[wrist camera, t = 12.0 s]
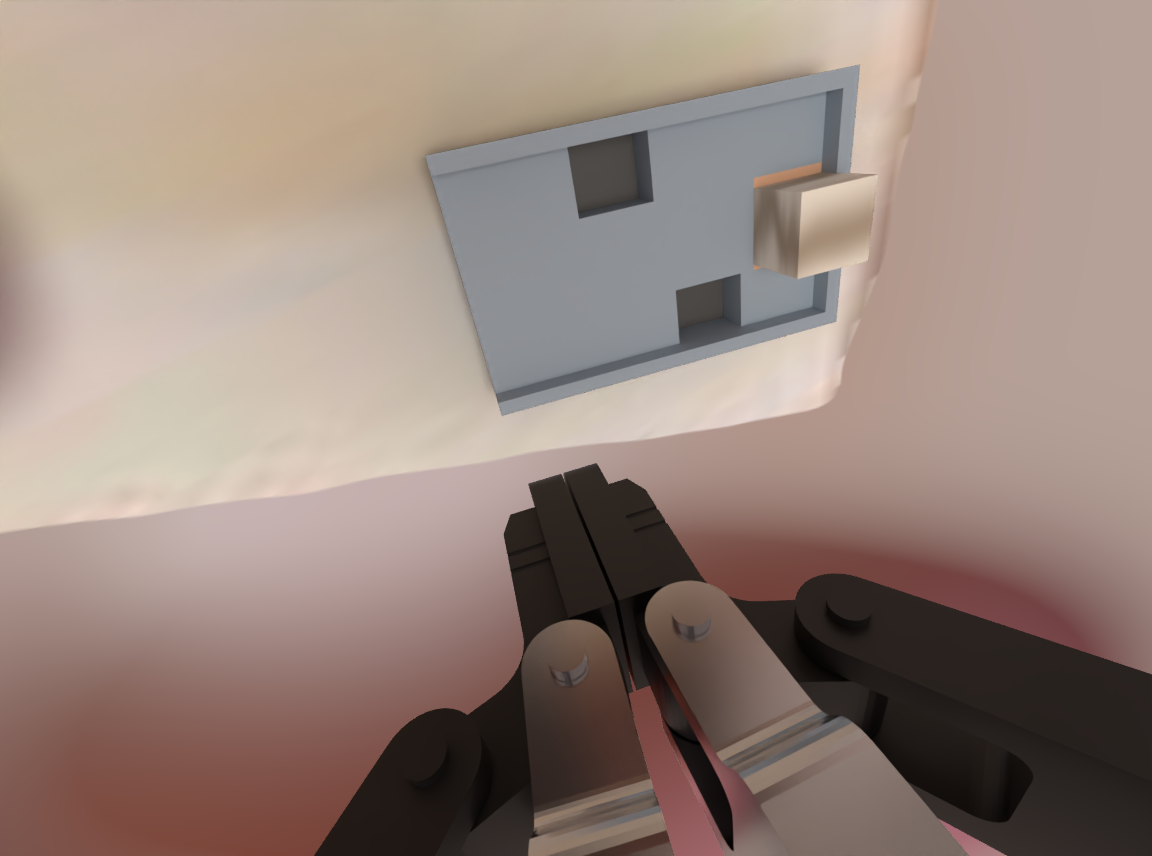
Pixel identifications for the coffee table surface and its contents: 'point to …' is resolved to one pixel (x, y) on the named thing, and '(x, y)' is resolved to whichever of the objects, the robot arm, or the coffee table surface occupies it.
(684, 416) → the coffee table surface
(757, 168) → the track
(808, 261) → the cream cube
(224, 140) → the coffee table surface
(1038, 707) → the robot arm
